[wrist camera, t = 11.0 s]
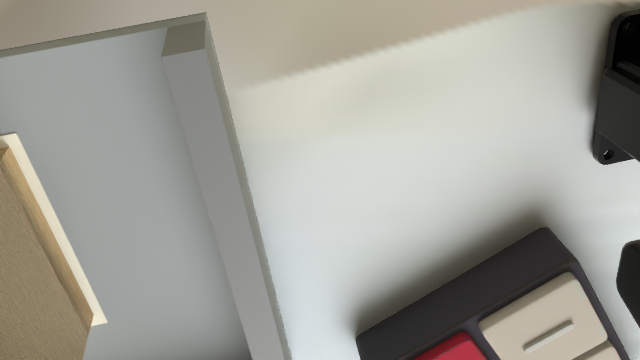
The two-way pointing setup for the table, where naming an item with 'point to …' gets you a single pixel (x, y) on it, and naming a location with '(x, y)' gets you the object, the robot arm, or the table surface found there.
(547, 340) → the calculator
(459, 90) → the table surface
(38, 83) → the arena
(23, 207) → the bracket
